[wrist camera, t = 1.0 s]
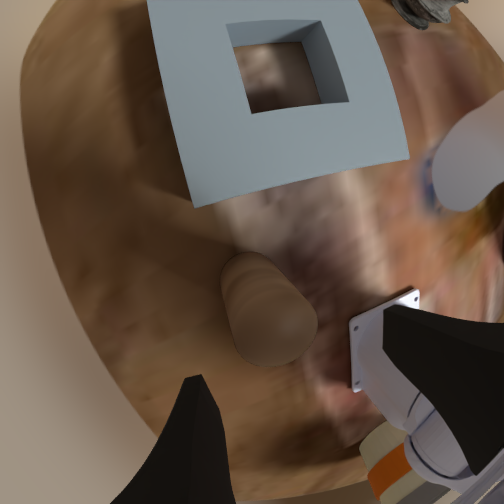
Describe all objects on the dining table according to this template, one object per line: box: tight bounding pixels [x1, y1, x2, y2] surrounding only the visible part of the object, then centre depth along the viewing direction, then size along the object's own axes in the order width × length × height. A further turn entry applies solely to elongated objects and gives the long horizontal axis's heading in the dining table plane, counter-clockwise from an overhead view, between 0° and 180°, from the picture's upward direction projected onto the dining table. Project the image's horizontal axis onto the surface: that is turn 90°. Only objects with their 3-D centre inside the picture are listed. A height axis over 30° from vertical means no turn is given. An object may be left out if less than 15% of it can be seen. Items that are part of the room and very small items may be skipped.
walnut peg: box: [220, 252, 318, 367], centre depth 15 cm, size 4×4×7 cm
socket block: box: [147, 0, 410, 209], centre depth 14 cm, size 14×14×4 cm
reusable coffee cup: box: [359, 421, 451, 504], centre depth 22 cm, size 13×13×15 cm
